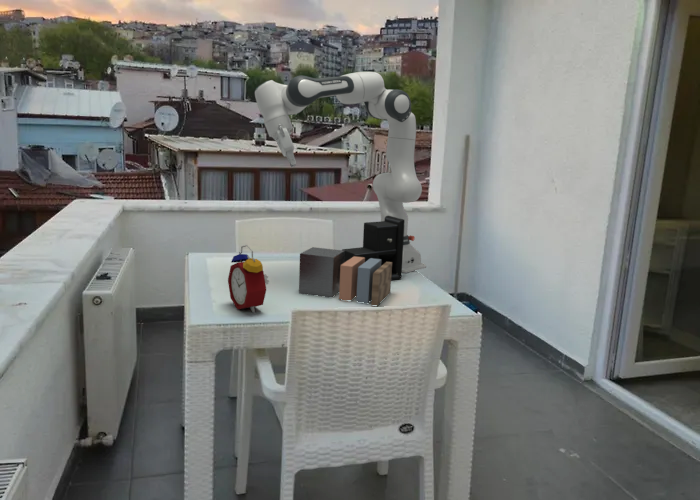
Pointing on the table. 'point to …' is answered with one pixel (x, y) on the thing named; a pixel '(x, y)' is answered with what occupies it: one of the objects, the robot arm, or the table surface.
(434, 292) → the table surface
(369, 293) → the slate-blue book
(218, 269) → the table surface
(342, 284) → the terracotta book
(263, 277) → the alarm clock
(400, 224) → the bookend
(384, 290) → the walnut end board
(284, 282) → the table surface
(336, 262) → the iron bookend
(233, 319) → the table surface
